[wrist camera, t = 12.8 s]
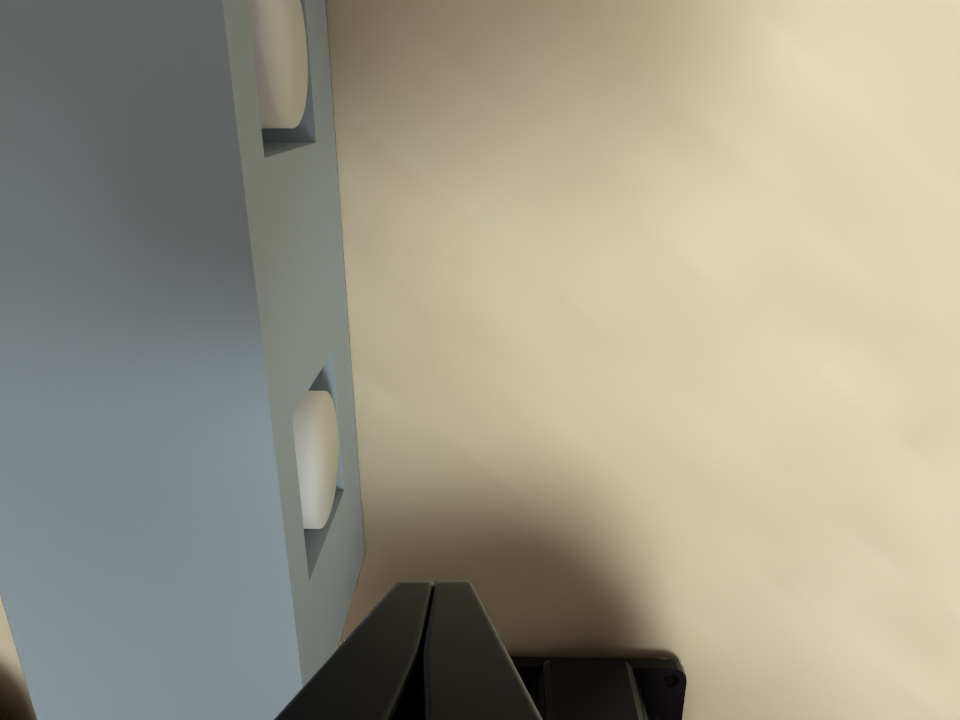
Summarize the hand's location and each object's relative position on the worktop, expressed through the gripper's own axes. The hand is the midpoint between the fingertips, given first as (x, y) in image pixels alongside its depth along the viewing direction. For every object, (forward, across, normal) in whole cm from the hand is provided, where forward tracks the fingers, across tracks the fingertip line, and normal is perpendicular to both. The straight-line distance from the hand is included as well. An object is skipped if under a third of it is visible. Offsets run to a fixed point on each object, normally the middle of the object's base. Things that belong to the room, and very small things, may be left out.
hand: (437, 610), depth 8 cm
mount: (+12, +6, -2) cm, 14 cm away
